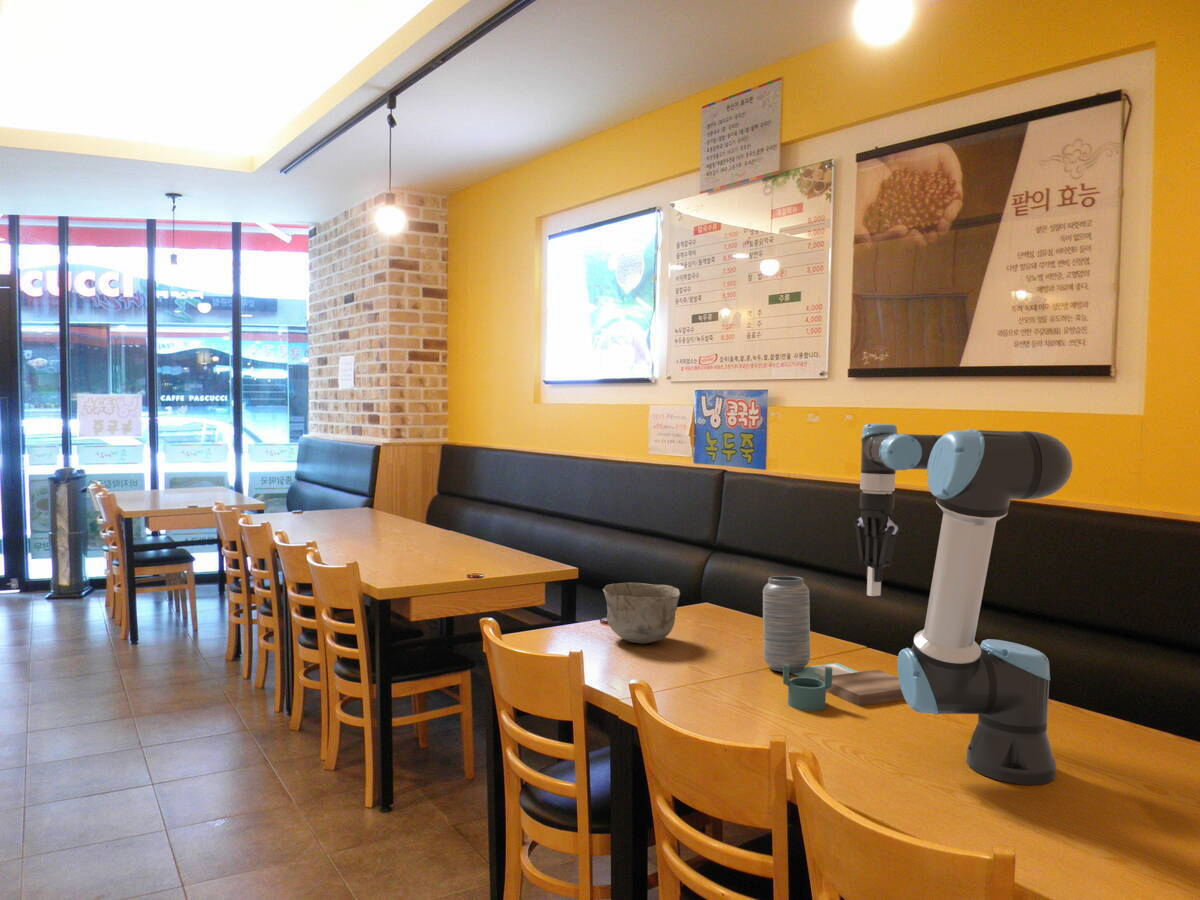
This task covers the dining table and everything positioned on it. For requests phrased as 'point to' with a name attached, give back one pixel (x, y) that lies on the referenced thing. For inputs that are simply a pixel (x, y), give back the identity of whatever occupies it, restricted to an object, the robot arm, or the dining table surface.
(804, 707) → the bracket
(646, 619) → the bowl
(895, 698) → the brown wooden flat board
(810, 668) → the mat
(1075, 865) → the dining table surface
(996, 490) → the robot arm
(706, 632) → the dining table surface
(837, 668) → the white rectangular block
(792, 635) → the vase
